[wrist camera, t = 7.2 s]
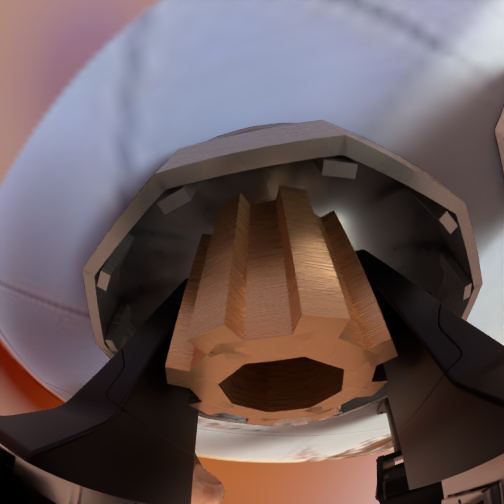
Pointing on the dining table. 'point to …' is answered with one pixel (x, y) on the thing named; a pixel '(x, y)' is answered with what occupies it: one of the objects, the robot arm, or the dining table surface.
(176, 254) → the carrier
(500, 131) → the jar
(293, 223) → the bronze pinion
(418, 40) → the dining table surface
